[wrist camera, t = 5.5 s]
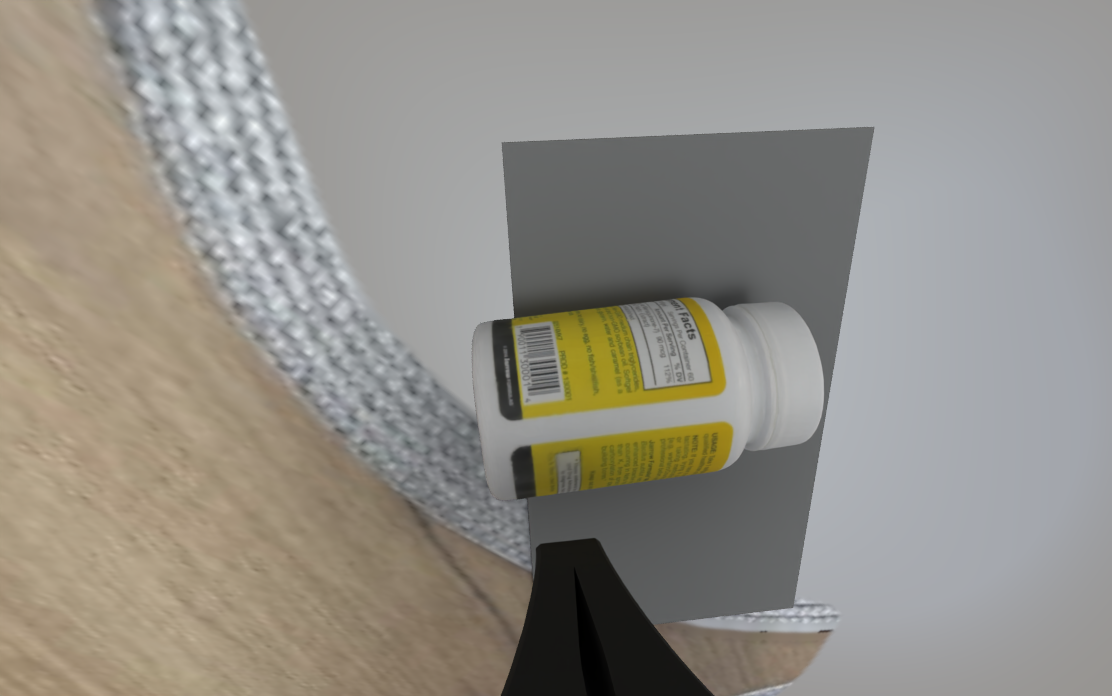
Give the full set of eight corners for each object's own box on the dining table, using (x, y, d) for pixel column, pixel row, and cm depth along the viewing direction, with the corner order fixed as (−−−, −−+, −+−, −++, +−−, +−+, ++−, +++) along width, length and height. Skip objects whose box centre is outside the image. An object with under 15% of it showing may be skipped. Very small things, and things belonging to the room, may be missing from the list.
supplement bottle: (496, 466, 17) (752, 433, 17) (489, 536, 12) (840, 489, 13) (477, 315, 16) (744, 286, 17) (462, 329, 11) (833, 288, 12)
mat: (787, 599, 22) (793, 607, 21) (536, 629, 21) (537, 638, 21) (865, 127, 15) (874, 126, 15) (501, 142, 14) (502, 142, 14)
